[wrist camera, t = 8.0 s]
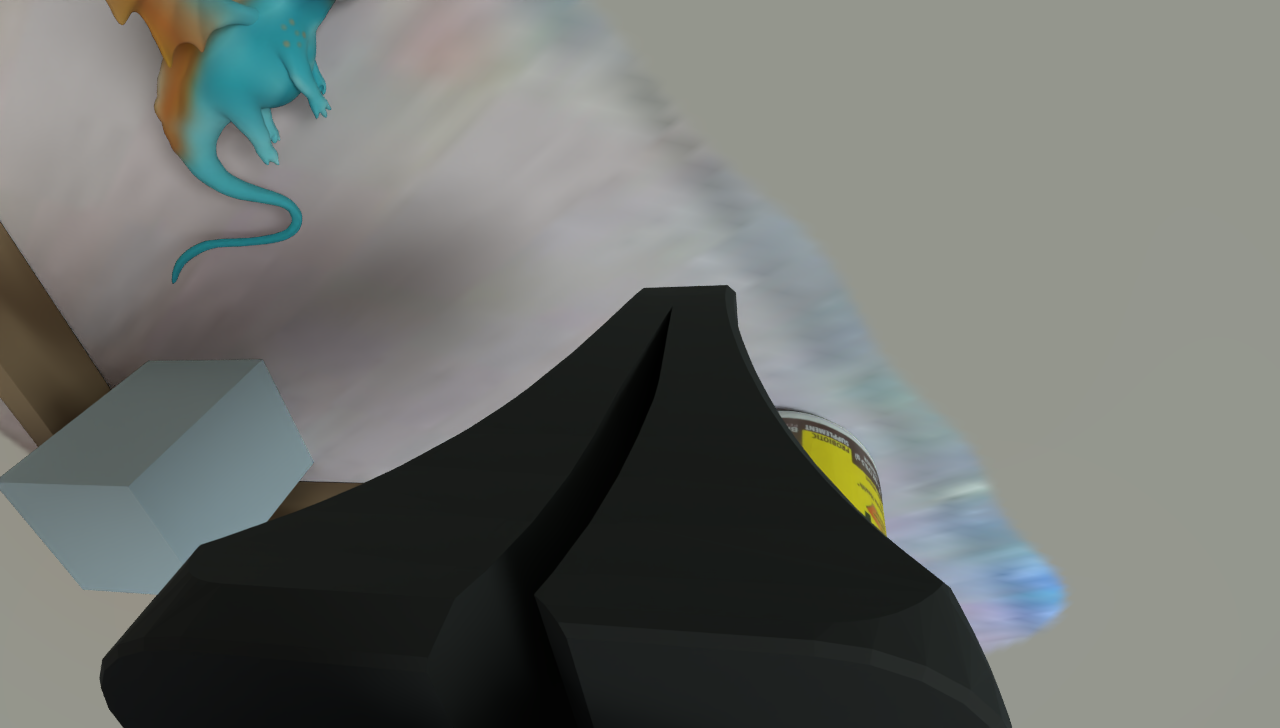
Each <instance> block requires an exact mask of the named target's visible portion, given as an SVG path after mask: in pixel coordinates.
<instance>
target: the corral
mask: <svg viewBox="0 0 1280 728" xmlns="http://www.w3.org/2000/svg"><path fill="white" fill-rule="evenodd" d="M109 391H111V390H110V388H109V387H108V385H107V384H106V382H105V381H104V379H103V378H102V376H101V375H100V373H99V371H98V370H97V368H96V367H95V365H94V364H93V362H92V361H91V359H90V358H89V356H88V355H87V353H86V352H85V350H84V349H83V347H82V346H81V344H80V343H79V341H78V340H77V338H76V337H75V335H74V333H73V332H72V330H71V329H70V327H69V326H68V324H67V323H66V321H65V320H64V318H63V317H62V315H61V314H60V312H59V311H58V309H57V308H56V306H55V305H54V303H53V302H52V300H51V299H50V297H49V295H48V294H47V292H46V291H45V289H44V288H43V286H42V285H41V283H40V282H39V280H38V279H37V277H36V276H35V274H34V273H33V271H32V270H31V268H30V267H29V265H28V264H27V262H26V261H25V259H24V258H23V256H22V254H21V253H20V251H19V250H18V248H17V247H16V245H15V244H14V242H13V241H12V239H11V238H10V236H9V235H8V233H7V232H6V230H5V229H4V227H3V226H2V224H1V223H0V398H1V399H2V400H3V401H4V403H5V404H6V405H7V407H8V408H9V409H10V411H11V412H12V413H13V415H14V416H15V417H16V418H17V420H18V421H19V422H20V424H21V425H22V426H23V428H24V429H25V430H26V431H27V433H28V434H29V435H30V437H31V438H32V439H33V441H34V442H35V443H36V445H37V446H38V447H39V446H40V445H42V444H43V443H44V442H46V441H47V440H48V439H49V438H51V437H52V436H53V435H54V434H56V433H57V432H58V431H60V430H61V429H62V428H63V427H65V426H66V425H67V424H69V423H70V422H71V421H72V420H74V419H75V418H76V417H77V416H79V415H80V414H81V413H83V412H84V411H85V410H86V409H88V408H89V407H90V406H91V405H93V404H94V403H95V402H97V401H98V400H99V399H100V398H102V397H103V396H104V395H106V394H107V393H108V392H109ZM361 484H363V483H326V482H298V483H297V484H296V486H295V487H294V488H293V489H292V491H291V492H290V493H289V494H288V496H287V497H286V498H285V500H284V501H283V502H282V503H281V505H280V506H279V507H278V508H277V510H276V511H275V512H274V513H273V515H272V516H271V517H270V518H269V520H268V521H270V520H273V519H276V518H279V517H282V516H284V515H287V514H290V513H293V512H296V511H298V510H301V509H303V508H306V507H308V506H311V505H314V504H316V503H319V502H321V501H324V500H326V499H328V498H331V497H333V496H335V495H338V494H340V493H342V492H345V491H347V490H349V489H352V488H354V487H356V486H359V485H361ZM268 521H267V522H268Z"/></svg>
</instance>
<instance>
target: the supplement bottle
mask: <svg viewBox="0 0 1280 728" xmlns="http://www.w3.org/2000/svg"><path fill="white" fill-rule="evenodd" d="M778 413H779V414H780V416H781V417H782V419H783V420H784V422H785V423H786V425H787V426H788V428H789V429H790V431H791V432H792V433H793V435H794V436H795V438H796V439H797V440H798V442H799V443H800V444H801V446H802V447H803V448H804V450H805V451H806V452H807V453H808V455H809V456H810V457H811V459H812V460H813V461H814V462H815V464H816V465H817V466H818V467H819V468H820V469H821V470H822V471H823V472H824V474H825V475H826V476H827V477H828V478H829V479H830V480H831V481H832V482H833V483H834V484H835V486H836V487H837V488H838V489H839V490H840V491H841V492H842V493H843V494H844V495H845V496H846V498H847V499H848V500H849V501H850V502H851V503H852V504H853V505H854V506H855V507H856V508H857V509H858V510H859V511H860V512H861V513H862V514H863V515H864V516H865V517H866V518H867V519H868V520H869V521H871V522H872V523H873V524H874V525H875V526H876V527H877V528H878V529H879V530H880V531H881V532H882V533H883V534H884V535H885V536H886V537H887V535H886V527H885V519H884V512H883V503H882V493H881V488H880V482H879V477H878V473H877V469H876V467H875V464H874V462H873V460H872V458H871V456H870V454H869V453H868V451H867V450H866V449H865V447H864V446H863V445H862V444H861V443H860V442H859V441H858V440H857V439H856V438H855V437H854V436H853V435H852V434H850V433H849V432H848V431H847V430H845V429H844V428H842V427H840V426H839V425H837V424H835V423H833V422H831V421H829V420H826V419H824V418H821V417H818V416H814V415H811V414H807V413H801V412H795V411H778Z"/></svg>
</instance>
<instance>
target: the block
mask: <svg viewBox="0 0 1280 728" xmlns="http://www.w3.org/2000/svg"><path fill="white" fill-rule="evenodd" d="M313 463H314V462H313V460H312V458H311V456H310V454H309V452H308V450H307V448H306V446H305V444H304V442H303V440H302V438H301V436H300V434H299V432H298V430H297V428H296V426H295V424H294V422H293V420H292V418H291V416H290V414H289V412H288V410H287V408H286V406H285V404H284V402H283V400H282V398H281V396H280V394H279V392H278V390H277V388H276V386H275V384H274V382H273V380H272V378H271V376H270V374H269V372H268V370H267V368H266V366H265V364H264V362H263V360H262V359H256V360H176V361H148V362H146V363H145V364H144V365H143V366H141V367H140V368H139V369H137V370H136V371H135V372H134V373H132V374H131V375H130V376H129V377H127V378H126V379H125V380H123V381H122V382H121V383H120V384H118V385H117V386H116V387H114V388H113V389H112V390H111V391H109V392H108V393H107V394H106V395H104V396H103V397H102V398H100V399H99V400H98V401H97V402H95V403H94V404H93V405H91V406H90V407H89V408H88V409H86V410H85V411H84V412H83V413H81V414H80V415H79V416H77V417H76V418H75V419H74V420H72V421H71V422H70V423H69V424H67V425H66V426H65V427H63V428H62V429H61V430H60V431H58V432H57V433H56V434H54V435H53V436H52V437H51V438H49V439H48V440H47V441H46V442H44V443H43V444H42V445H40V446H39V447H38V448H37V449H35V450H34V451H33V452H31V453H30V454H29V455H28V456H26V457H25V458H24V459H23V460H21V461H20V462H19V463H17V464H16V465H15V466H14V467H12V468H11V469H10V470H9V471H7V472H6V473H5V474H3V475H2V476H1V477H0V491H1V492H2V493H3V494H4V495H5V496H6V498H7V499H8V500H9V501H10V502H11V504H12V505H13V506H14V507H15V509H16V510H17V511H18V512H19V513H20V515H21V516H22V517H23V518H24V519H25V520H26V522H27V523H28V524H29V525H30V527H31V528H32V529H33V530H34V531H35V533H36V534H37V535H38V536H39V537H40V539H42V541H43V542H44V543H45V544H46V546H47V547H48V548H49V549H50V551H51V552H52V553H53V554H54V555H55V557H56V558H57V559H58V560H59V561H60V563H61V564H62V565H63V566H64V567H65V568H66V570H67V571H68V572H69V573H70V575H71V576H72V577H73V578H74V579H75V581H76V582H77V583H78V584H79V585H80V586H81V588H82V589H83V590H98V591H112V592H126V593H141V594H156V595H158V593H159V592H160V591H161V590H162V589H163V588H164V586H165V585H166V584H167V583H168V582H169V580H170V579H171V578H172V577H173V576H174V575H175V573H176V572H177V571H178V570H179V569H180V568H181V566H182V565H183V564H184V563H185V562H186V561H187V559H188V558H189V557H190V556H191V555H192V554H193V552H194V551H195V550H196V549H197V548H198V546H200V545H201V544H204V543H207V542H210V541H213V540H217V539H220V538H223V537H226V536H228V535H231V534H234V533H237V532H240V531H242V530H245V529H248V528H251V527H254V526H256V525H259V524H262V523H265V522H267V521H268V520H269V518H270V517H271V516H272V515H273V513H274V512H275V511H276V510H277V508H278V507H279V506H280V505H281V503H282V502H283V501H284V500H285V498H286V497H287V496H288V494H289V493H290V492H291V491H292V489H293V488H294V487H295V486H296V484H297V483H298V482H299V481H300V479H301V478H302V477H303V476H304V474H305V473H306V472H307V470H308V469H309V468H310V467H311V465H312V464H313Z"/></svg>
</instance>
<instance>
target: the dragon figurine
mask: <svg viewBox="0 0 1280 728" xmlns="http://www.w3.org/2000/svg"><path fill="white" fill-rule="evenodd" d="M335 1H336V0H106V2H107V3H108V5H109V7H110V9H111V11H112V13H113V15H114V17H115V18H116V20H117V21H118V23H119V24H121V25H124V24H125V23H126V21H127V20H128V18H129V16H130V14H131V13H132V12H137V13H139V14H140V15H141V17H142V18H143V19H144V21H145V22H146V24H147V25H148V27H149V29H150V31H151V34H152V36H153V38H154V40H155V41H156V43H157V45H158V47H159V49H160V52H161V54H162V56H163V60H162V64H161V68H160V72H159V75H158V78H157V98H156V100H155V104H154V109H155V113H156V115H157V116H158V118H159V119H160V121H161V122H162V126H163V130H164V133H165V135H166V137H167V139H168V140H169V142H170V145H171V147H172V149H173V151H174V152H175V153H176V154H177V155H178V156H179V157H180V158H181V160H182V161H183V162H184V163H185V165H186V166H187V167H188V169H189V170H190V171H191V172H192V174H193V175H195V176H196V177H197V178H198V179H199V180H200V181H202V182H203V183H205V184H206V185H208V186H209V187H211V188H213V189H214V190H216V191H218V192H220V193H222V194H224V195H227V196H230V197H233V198H236V199H240V200H247V201H252V202H259V203H265V204H270V205H276V206H280V207H282V208H285V209H286V210H288V211H289V213H290V215H291V217H292V222H291V224H290V226H289V227H288V228H287V229H286V230H284V231H282V232H278V233H275V234H271V235H266V236H260V237H252V238H237V239H217V240H208V241H204V242H201V243H199V244H197V245H195V246H193V247H191V248H190V249H188V250H187V251H186V252H184V253H183V254H182V255H181V256H180V257H179V259H178V260H177V261H176V263H175V266H174V269H173V272H172V283H173V284H174V283H175V282H176V281H177V279H178V276H179V273H180V272H181V270H182V268H183V266H184V265H185V264H186V263H187V262H188V261H189V260H191V259H192V258H193V257H195V256H197V255H198V254H200V253H202V252H204V251H206V250H209V249H213V248H217V247H238V246H250V245H261V244H270V243H275V242H280V241H284V240H286V239H288V238H290V237H292V236H293V235H295V234H296V233H297V232H298V231H299V229H300V227H301V224H302V214H301V211H300V210H299V208H298V207H297V206H296V204H295V203H294V202H293V201H292V200H290V199H289V198H287V197H285V196H283V195H281V194H279V193H276V192H273V191H270V190H267V189H264V188H261V187H258V186H255V185H253V184H250V183H247V182H245V181H242V180H240V179H238V178H237V177H235V176H233V175H232V174H230V173H229V172H228V171H226V169H225V168H224V167H223V165H222V164H221V162H220V161H219V159H218V157H217V154H216V144H217V140H218V138H219V136H220V134H221V132H222V130H223V129H224V127H225V126H226V125H227V124H229V123H230V122H232V123H233V124H234V125H235V126H236V127H237V128H238V129H239V130H240V131H241V132H242V133H243V134H244V135H245V136H246V137H247V138H248V139H249V140H250V142H251V143H252V144H253V146H254V147H255V150H256V152H257V154H258V155H259V157H260V158H261V159H262V160H263V162H264V163H265V164H267V165H269V162H274V163H275V164H277V165H279V161H278V153H277V151H276V150H275V149H274V147H273V146H272V144H271V141H272V142H273V143H276V142H277V140H279V141H280V136H279V132H278V130H277V128H276V126H275V124H274V122H273V119H272V114H271V110H270V108H275V107H280V106H283V105H286V104H288V103H289V102H291V101H292V100H294V99H295V98H296V97H297V96H298V95H299V94H300V93H303V94H304V95H305V96H306V97H307V98H308V101H309V105H310V107H311V109H312V111H313V113H314V115H315V118H316V119H317V118H318V116H319V113H321V114H322V115H323V116H324V117H325V118H326V117H327V112H326V110H325V108H326V109H328V110H331V107H330V105H329V104H328V102H327V100H326V99H325V98H324V97H323V95H322V94H325V92H326V83H325V80H324V79H323V77H322V75H321V73H320V71H319V69H318V66H317V64H316V61H315V57H316V30H317V28H318V26H319V25H320V24H321V22H322V21H323V20H324V18H325V17H326V15H327V13H328V11H329V9H330V8H331V7H332V5H333V3H334V2H335ZM321 91H322V94H321Z"/></svg>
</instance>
